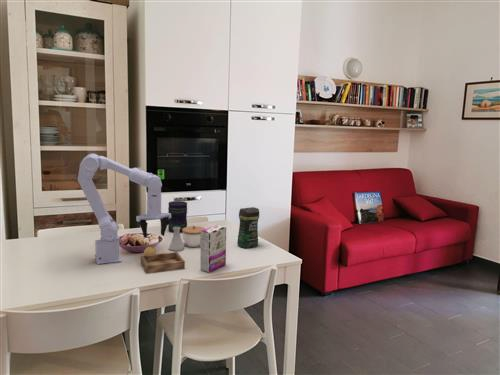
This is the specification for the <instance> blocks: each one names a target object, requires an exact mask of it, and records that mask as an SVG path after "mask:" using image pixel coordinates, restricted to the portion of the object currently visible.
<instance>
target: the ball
mask: <svg viewBox="0 0 500 375" xmlns="http://www.w3.org/2000/svg"><path fill="white" fill-rule="evenodd" d="M153 254H157V250H156V248H155V247H154V246H147V247H146V248H145V249H144V251H143V255H153Z"/></svg>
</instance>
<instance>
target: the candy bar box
mask: <svg viewBox="0 0 500 375" xmlns="http://www.w3.org/2000/svg"><path fill="white" fill-rule="evenodd" d="M200 244H201V245H200V271H202V272H205V273H206V272H207V273H212V272H214V271H216V270H218V269H219V268H222V267H224V266H225V265H227V263H226V261H227V226H225V225H221V224H216V225H212V226H210V227H207V228H205V229H204V230H201V243H200Z"/></svg>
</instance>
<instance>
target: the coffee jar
mask: <svg viewBox="0 0 500 375" xmlns="http://www.w3.org/2000/svg"><path fill="white" fill-rule="evenodd" d="M238 218H239V228H238V236H237V246H238V247H240V248H244V249H247V248H248V249H249V248H250V247H251V248H254V247H258V245H259V232H258V229H259V228H258V227H259V226H258V222H259V219H260V209H259V208H257V207H253V206H252V207H244V208H241V207H240V209H239V211H238Z"/></svg>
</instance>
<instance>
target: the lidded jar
mask: <svg viewBox="0 0 500 375" xmlns="http://www.w3.org/2000/svg"><path fill="white" fill-rule="evenodd" d="M204 229H206V228H205V227H203V226H198V225H197V226H196V225H191V226H187V227H185V228H183V229H182V232H183V233H182V241H184V242H183V243H185V244H186V246H187V247H189V248H198V247H201V244H200V243H201V230H204Z"/></svg>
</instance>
